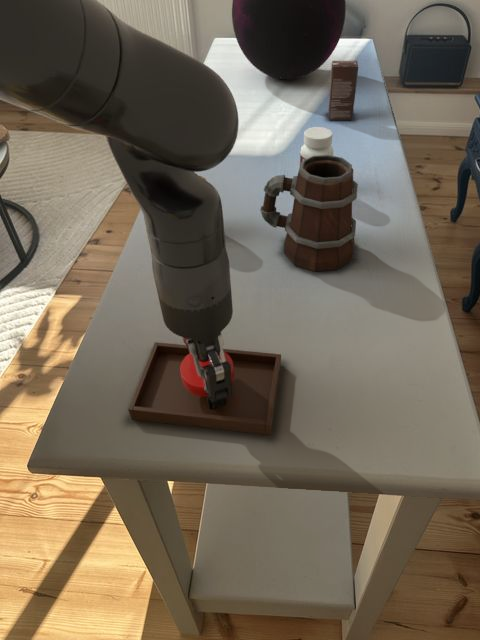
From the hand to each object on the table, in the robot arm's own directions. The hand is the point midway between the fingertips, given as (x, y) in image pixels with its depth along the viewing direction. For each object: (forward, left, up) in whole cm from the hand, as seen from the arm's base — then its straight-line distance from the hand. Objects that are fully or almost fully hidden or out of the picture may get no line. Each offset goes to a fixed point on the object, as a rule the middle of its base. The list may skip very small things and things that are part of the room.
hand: (208, 384), depth 61 cm
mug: (+10, +32, -1) cm, 34 cm away
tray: (0, 0, -1) cm, 1 cm away
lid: (0, 0, +3) cm, 3 cm away
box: (+14, +88, -1) cm, 89 cm away
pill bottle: (+10, +52, -1) cm, 53 cm away
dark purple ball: (-2, +115, -1) cm, 115 cm away
